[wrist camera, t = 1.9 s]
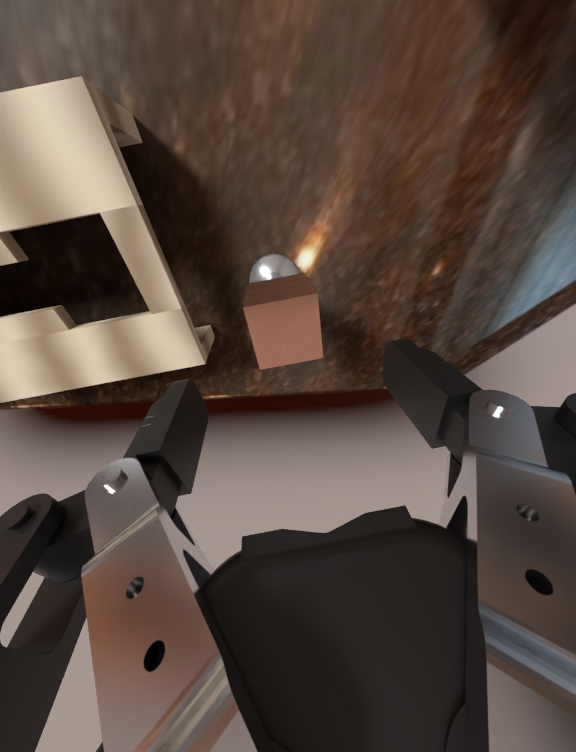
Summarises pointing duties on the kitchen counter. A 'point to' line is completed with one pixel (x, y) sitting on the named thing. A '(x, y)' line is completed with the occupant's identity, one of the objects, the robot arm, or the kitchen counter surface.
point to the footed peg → (282, 313)
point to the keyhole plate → (75, 200)
